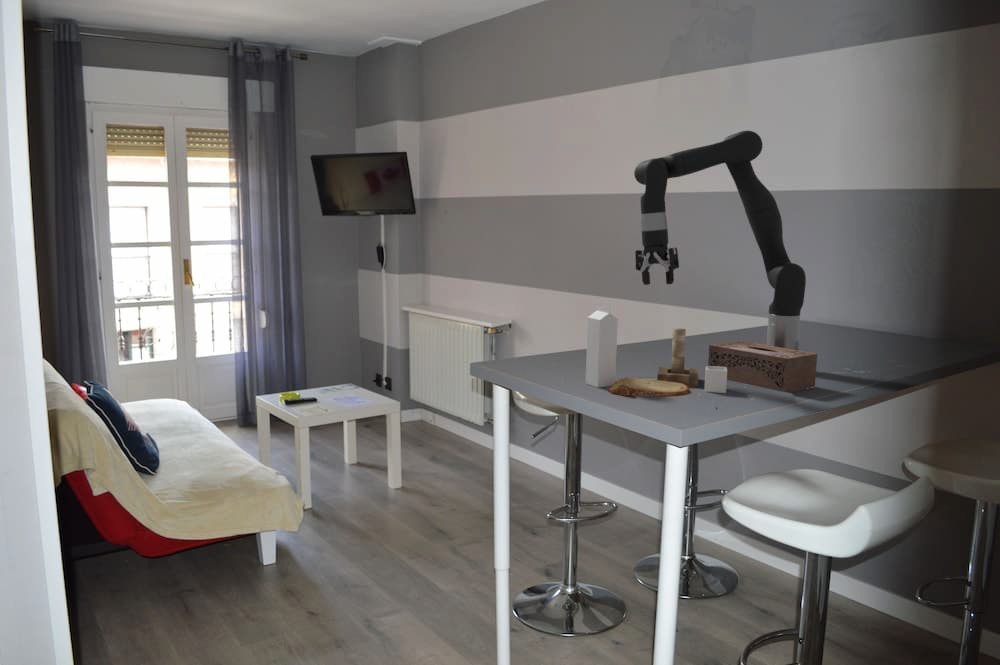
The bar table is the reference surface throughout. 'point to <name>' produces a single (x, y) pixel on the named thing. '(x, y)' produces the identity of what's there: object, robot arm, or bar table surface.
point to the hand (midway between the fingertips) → (658, 284)
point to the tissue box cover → (765, 365)
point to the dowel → (678, 351)
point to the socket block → (679, 376)
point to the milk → (601, 348)
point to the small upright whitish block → (715, 379)
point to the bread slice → (647, 388)
